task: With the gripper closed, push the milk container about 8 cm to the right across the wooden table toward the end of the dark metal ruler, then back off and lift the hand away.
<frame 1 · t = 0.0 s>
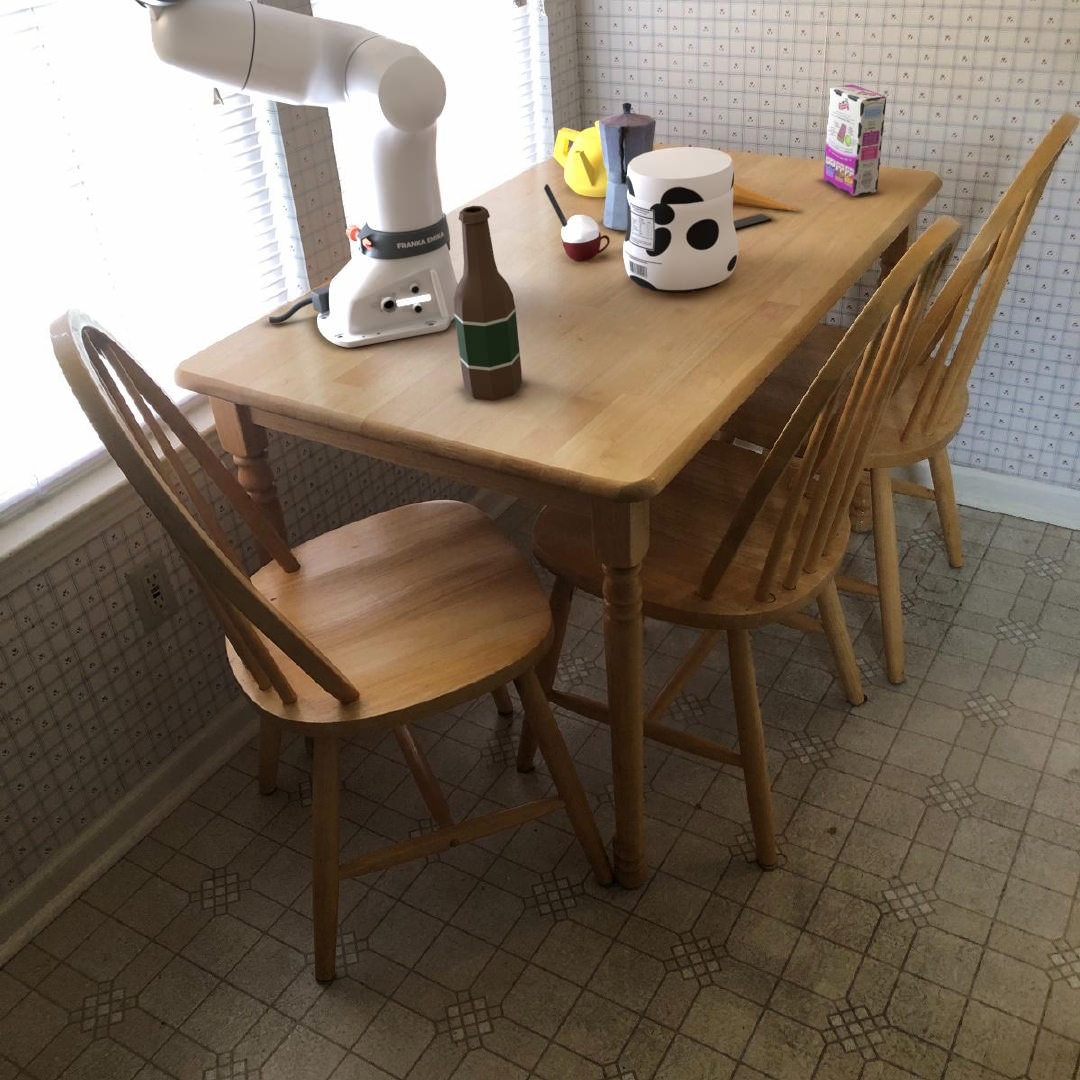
hand: (534, 10, 156), 39 cm above the table, tool pointing down, fingers open, 8 cm apart
ruler: (702, 235, 187), on the table
carrot: (744, 206, 198), on the table
moka pot: (629, 226, 194), on the table
beer bottle: (493, 389, 148), on the table
milk container: (680, 281, 173), on the table
teapot: (606, 187, 212), on the table
cocoa: (580, 258, 184), on the table
candy bar box: (849, 187, 201), on the table
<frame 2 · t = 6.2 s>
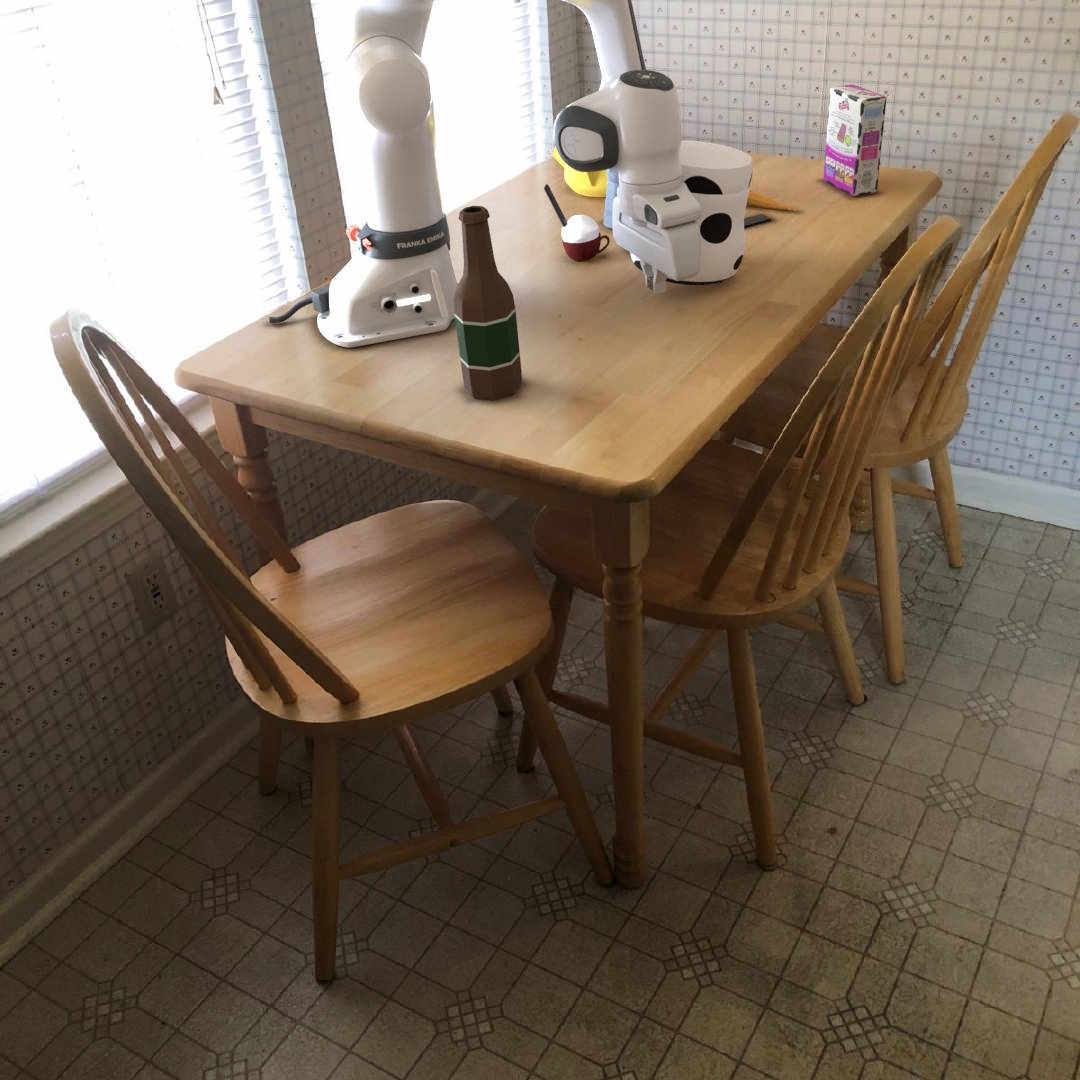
hand: (655, 289, 164), 3 cm above the table, tool pointing down, fingers closed
milk container: (682, 274, 172), point 1 cm above the table, touching arm, gripper
everything else where it was.
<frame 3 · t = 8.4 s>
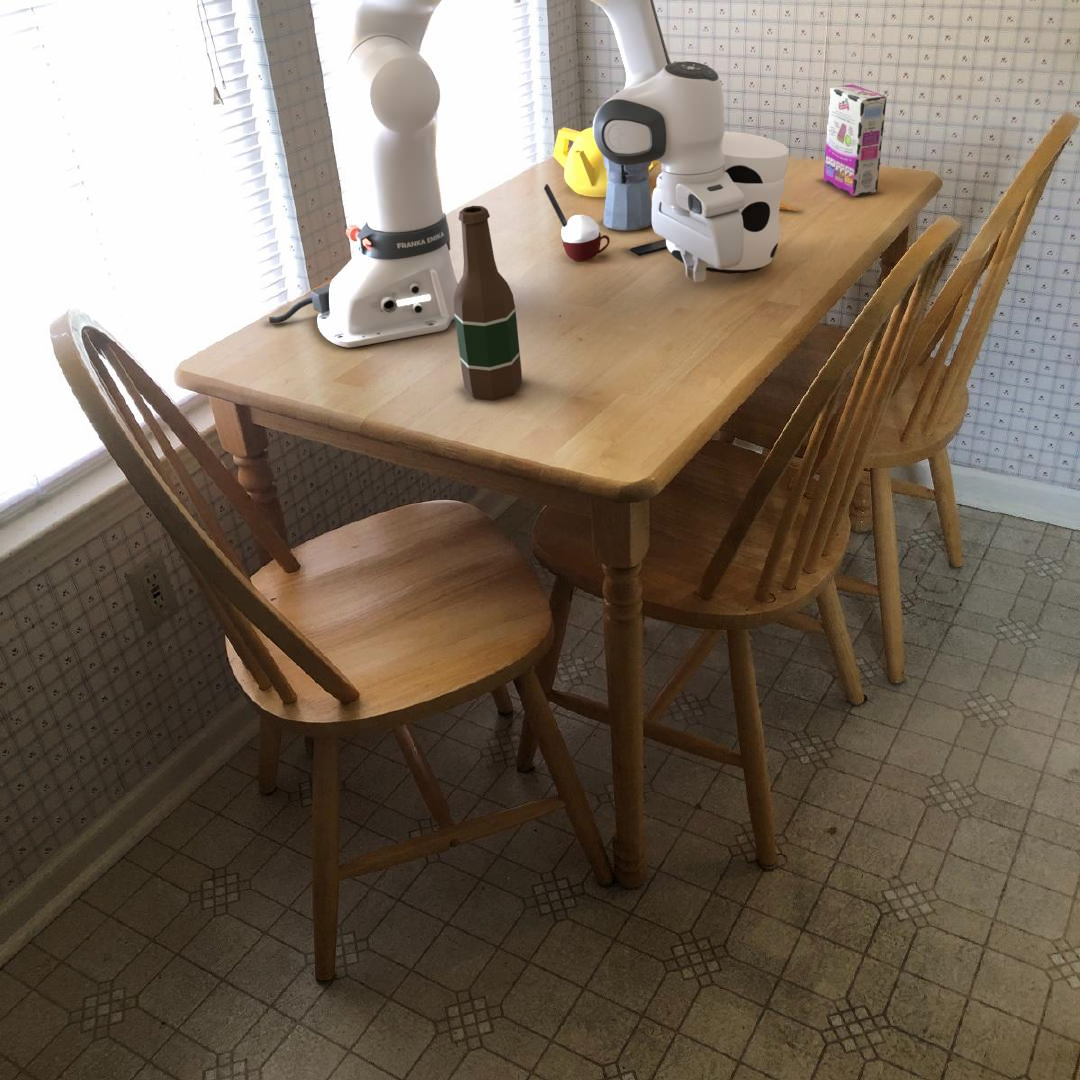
hand: (695, 278, 166), 3 cm above the table, tool pointing down, fingers closed
milk container: (717, 263, 174), point 1 cm above the table, touching arm, gripper
everything else where it was.
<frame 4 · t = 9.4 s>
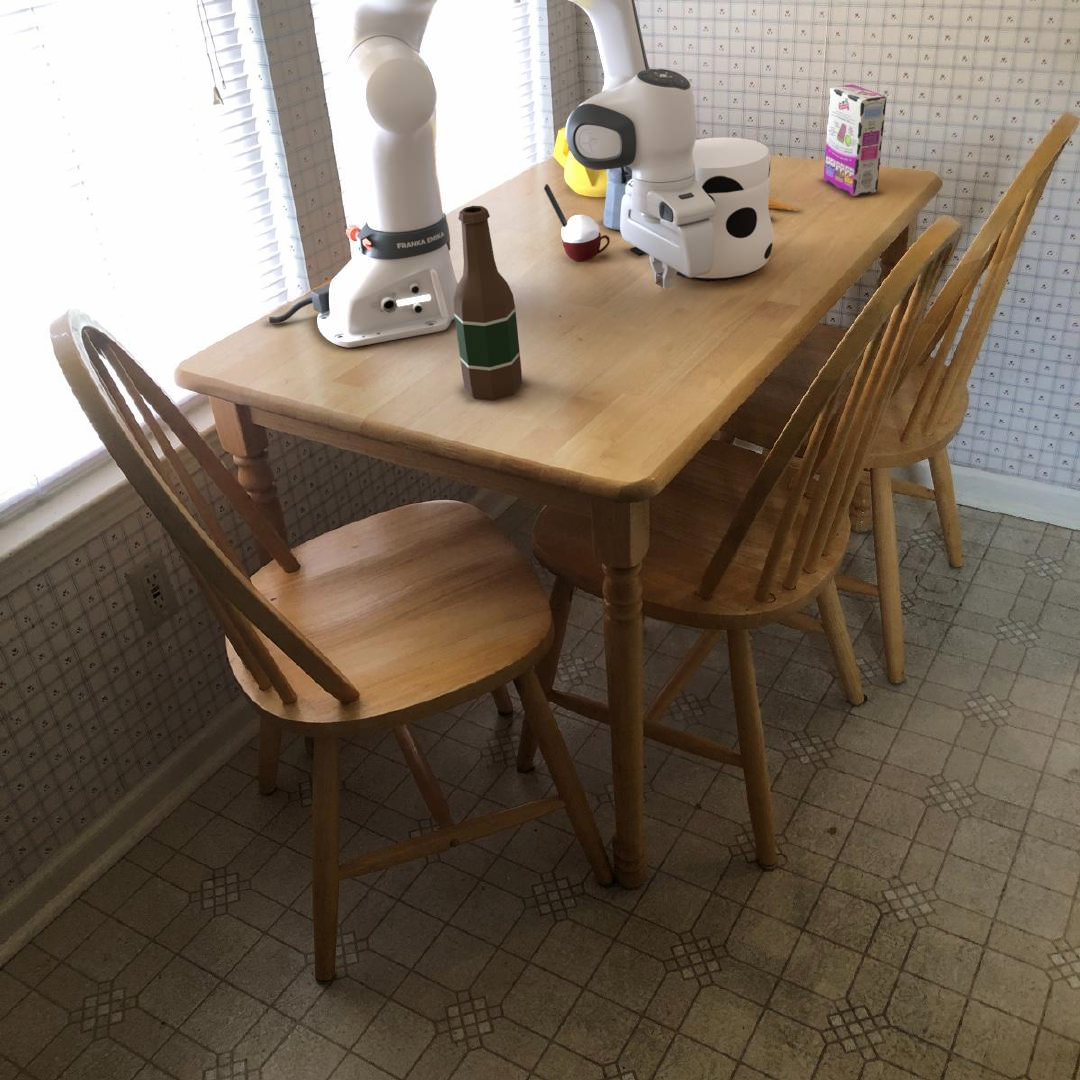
hand: (664, 286, 166), 2 cm above the table, tool pointing down, fingers closed
milk container: (715, 270, 175), on the table
everything else where it was.
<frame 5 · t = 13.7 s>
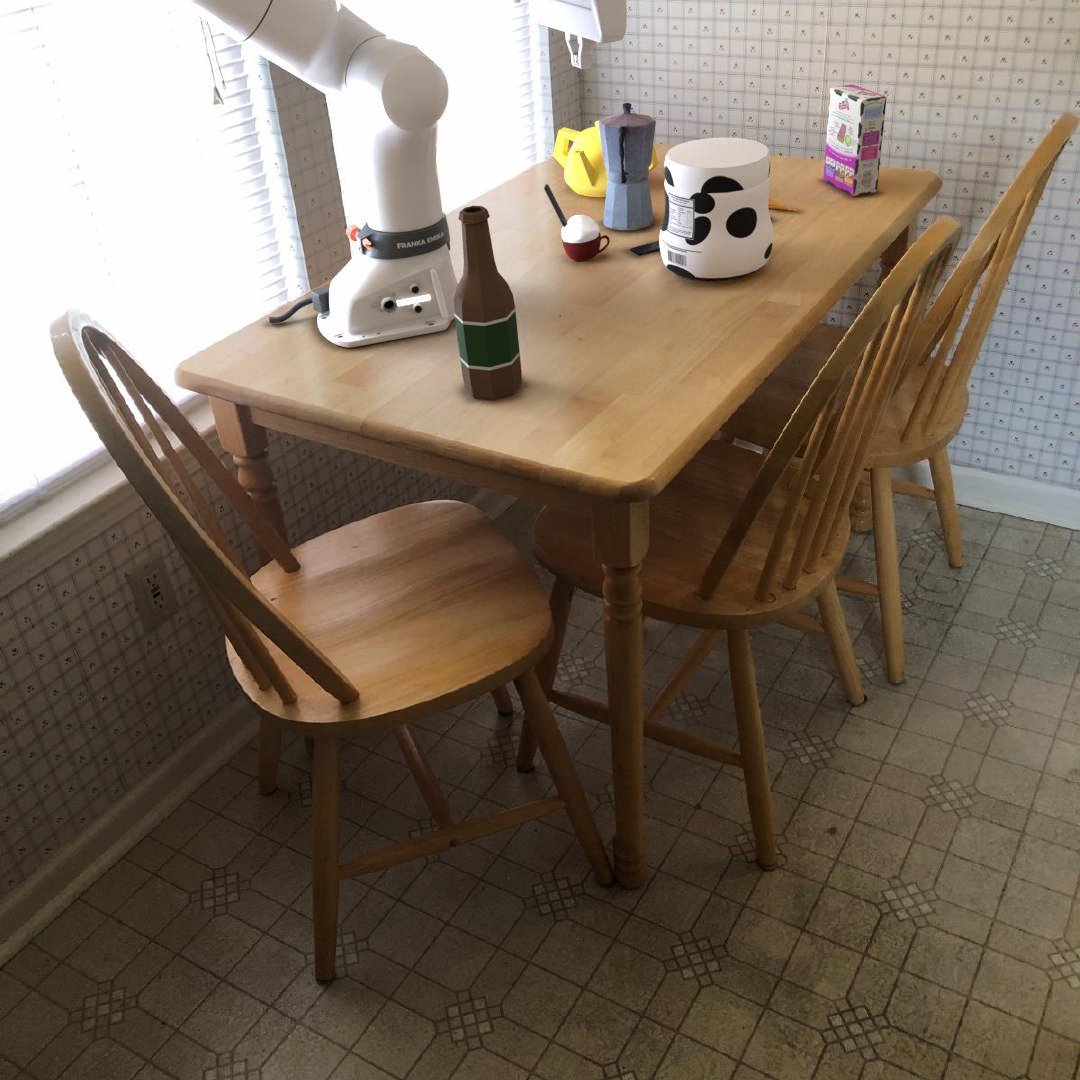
hand: (581, 67, 159), 31 cm above the table, tool pointing down, fingers closed
nothing on the table moved.
at the end: milk container inside the target area (1.4 cm from its centre), on the table; milk container tilted 0°; milk container moved 6.8 cm from its start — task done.
